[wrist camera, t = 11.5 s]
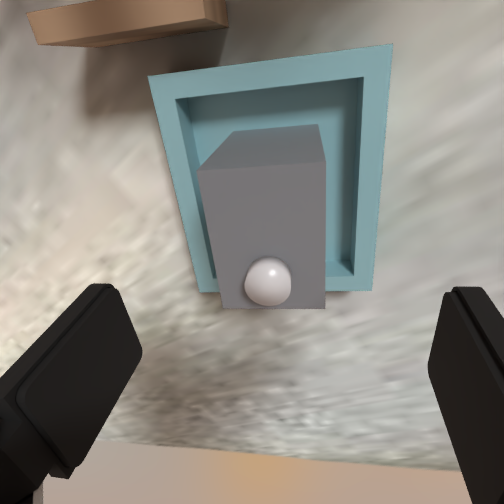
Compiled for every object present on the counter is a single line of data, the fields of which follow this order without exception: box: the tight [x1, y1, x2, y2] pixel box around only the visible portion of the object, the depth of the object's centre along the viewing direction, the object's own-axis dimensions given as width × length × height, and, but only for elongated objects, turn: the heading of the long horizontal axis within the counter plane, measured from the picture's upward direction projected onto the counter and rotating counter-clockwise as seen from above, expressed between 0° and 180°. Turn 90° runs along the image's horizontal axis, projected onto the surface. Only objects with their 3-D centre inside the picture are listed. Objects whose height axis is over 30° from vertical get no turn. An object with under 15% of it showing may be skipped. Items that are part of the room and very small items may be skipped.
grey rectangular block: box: [196, 124, 326, 309], centre depth 17 cm, size 5×7×9 cm
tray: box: [148, 44, 393, 292], centre depth 21 cm, size 12×14×3 cm
